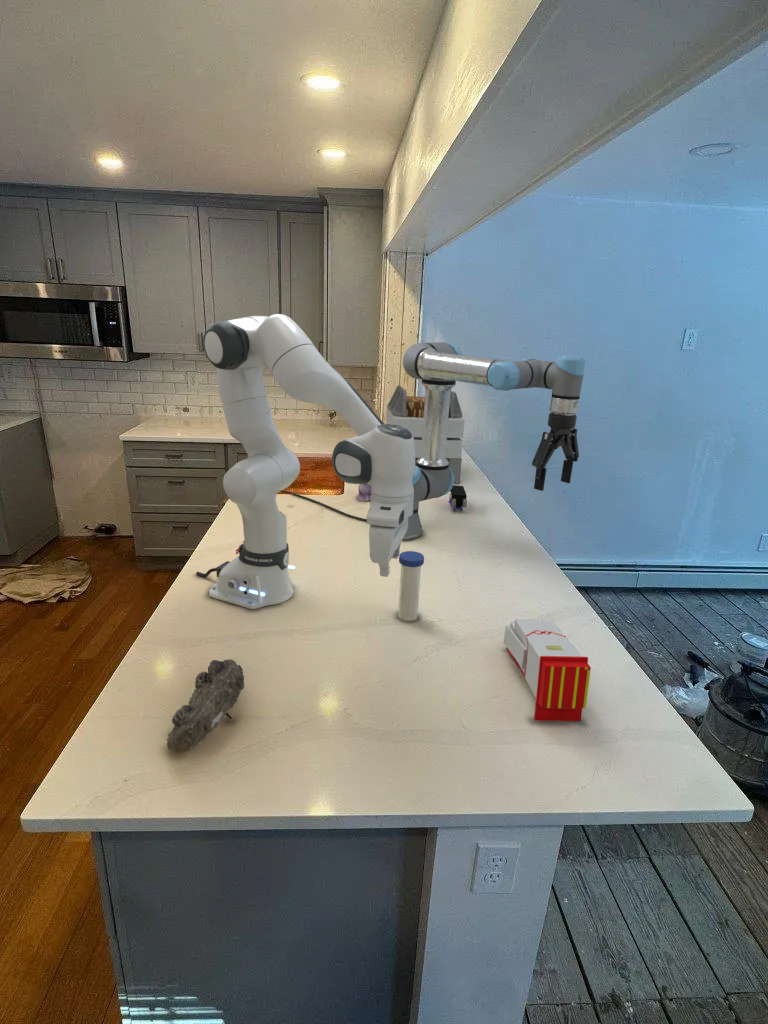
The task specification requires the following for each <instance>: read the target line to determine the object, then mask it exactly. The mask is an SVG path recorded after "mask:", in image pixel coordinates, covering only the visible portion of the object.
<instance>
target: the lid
mask: <svg viewBox="0 0 768 1024" xmlns="http://www.w3.org/2000/svg"><path fill="white" fill-rule="evenodd" d="M398 563H399V564H400V566H401V565H403V566H406V567H419V566H421V567H422V566H423V565H424V563H425V555H424V554H423V553H421V552H418V551H415V550H407V551H402V552H400V553H399V556H398Z"/></svg>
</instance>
